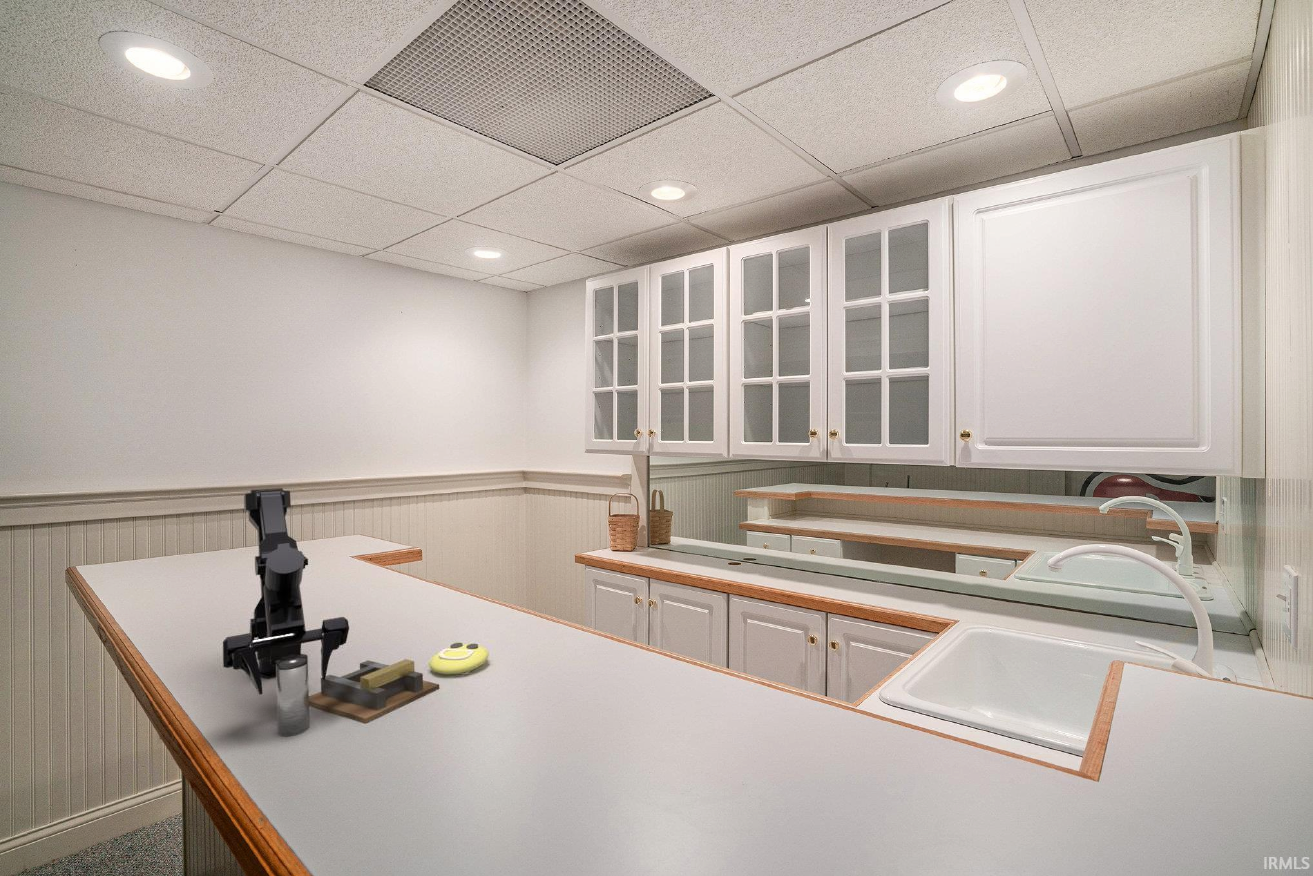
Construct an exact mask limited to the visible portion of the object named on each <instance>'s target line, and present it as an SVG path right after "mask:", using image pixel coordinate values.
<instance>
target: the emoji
mask: <svg viewBox="0 0 1313 876" xmlns="http://www.w3.org/2000/svg"><path fill="white" fill-rule="evenodd" d="M488 658H489V652H488V650H487V648H485V647H483V646H481V645H479V644H478V643H469V644H464V643H462V642H454V643H452V644H451V645H450V647H447V648H443V649H442V650H440V651H439V652H437V653H436V654H434V655H433V656H432V657H431V659H430V661H429V663H428V664H429V665H428V666H429V668H430V669H431V670H432V671H433V672H434V673H436V674H443V675H467V674H468V673H470V672H471V671H472V670H475V669H477V668H479V667H480V666H481V665H483V664H484V663H486V661H487V660H488Z"/></svg>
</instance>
